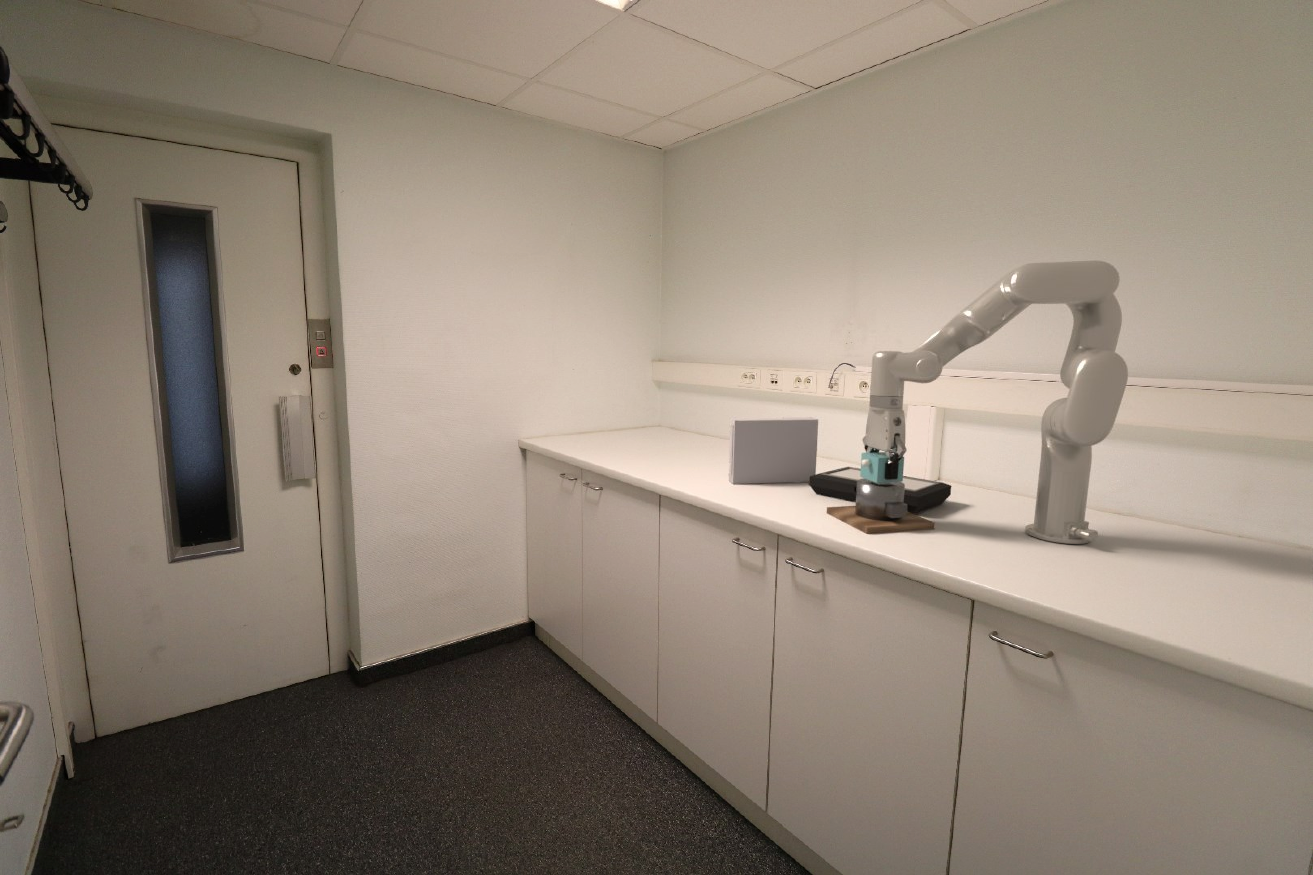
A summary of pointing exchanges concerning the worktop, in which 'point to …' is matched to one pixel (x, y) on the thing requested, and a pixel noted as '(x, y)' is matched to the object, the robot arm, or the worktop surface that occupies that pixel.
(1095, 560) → the worktop surface
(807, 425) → the upright gray panel box
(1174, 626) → the worktop surface
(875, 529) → the mounting board
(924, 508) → the electronic device
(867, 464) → the block
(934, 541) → the worktop surface
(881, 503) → the motor
